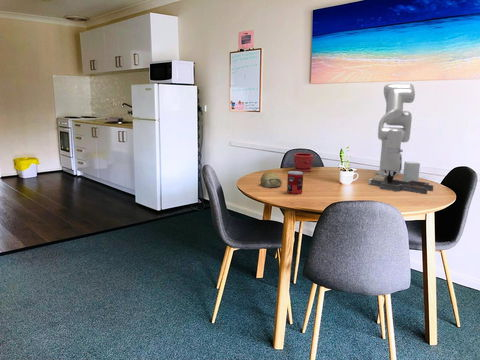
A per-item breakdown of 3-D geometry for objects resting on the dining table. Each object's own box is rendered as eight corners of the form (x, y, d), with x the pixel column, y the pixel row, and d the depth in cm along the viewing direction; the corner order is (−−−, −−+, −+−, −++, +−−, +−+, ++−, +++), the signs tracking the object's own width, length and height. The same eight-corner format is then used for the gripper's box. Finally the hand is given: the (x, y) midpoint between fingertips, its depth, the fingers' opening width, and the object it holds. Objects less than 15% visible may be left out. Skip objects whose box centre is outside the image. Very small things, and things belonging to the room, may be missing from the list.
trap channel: (380, 180, 232) (380, 175, 231) (436, 189, 210) (436, 184, 209) (364, 185, 216) (364, 180, 215) (422, 195, 194) (423, 190, 194)
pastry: (265, 182, 222) (266, 169, 220) (285, 184, 216) (286, 171, 214) (255, 186, 210) (255, 172, 208) (275, 189, 204) (276, 175, 202)
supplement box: (418, 184, 223) (420, 163, 220) (404, 183, 224) (407, 162, 222) (414, 181, 230) (417, 161, 227) (402, 181, 231) (404, 161, 229)
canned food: (286, 190, 200) (287, 170, 198) (301, 191, 200) (302, 171, 198) (287, 194, 193) (288, 173, 190) (303, 194, 192) (304, 173, 190)
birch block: (378, 183, 224) (378, 174, 223) (387, 184, 220) (388, 176, 219) (373, 184, 220) (374, 176, 219) (383, 186, 216) (383, 177, 215)
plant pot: (291, 169, 266) (292, 152, 264) (309, 169, 268) (310, 152, 265) (295, 172, 253) (296, 155, 251) (314, 172, 255) (315, 155, 253)
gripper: (408, 151, 210) (405, 183, 214) (382, 149, 220) (379, 179, 224) (403, 152, 205) (400, 185, 209) (377, 150, 215) (374, 181, 219)
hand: (389, 182), depth 216 cm, fingers closed
